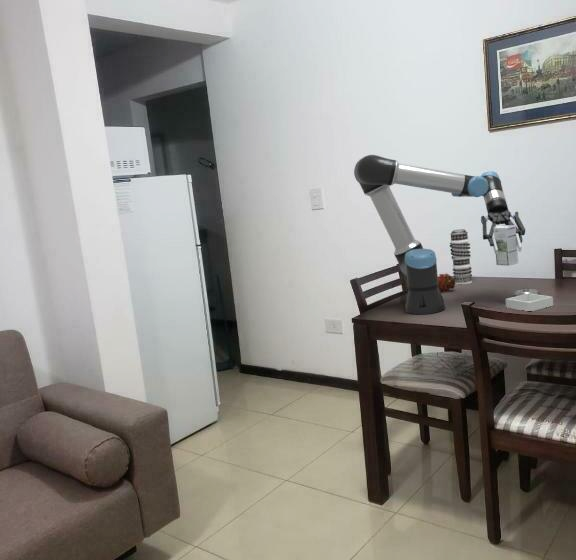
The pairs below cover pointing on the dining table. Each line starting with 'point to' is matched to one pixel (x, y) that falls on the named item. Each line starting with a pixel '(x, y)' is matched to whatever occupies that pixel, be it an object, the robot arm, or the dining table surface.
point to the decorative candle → (461, 257)
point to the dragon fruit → (445, 282)
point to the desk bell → (525, 292)
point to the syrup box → (506, 245)
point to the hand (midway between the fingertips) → (508, 250)
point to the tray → (529, 302)
